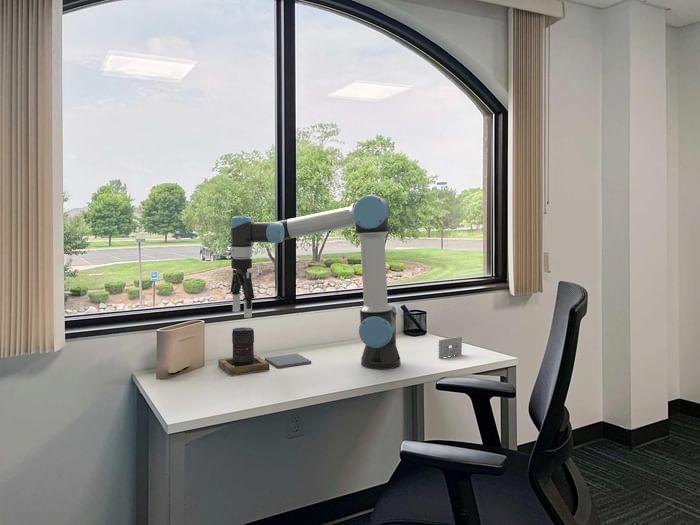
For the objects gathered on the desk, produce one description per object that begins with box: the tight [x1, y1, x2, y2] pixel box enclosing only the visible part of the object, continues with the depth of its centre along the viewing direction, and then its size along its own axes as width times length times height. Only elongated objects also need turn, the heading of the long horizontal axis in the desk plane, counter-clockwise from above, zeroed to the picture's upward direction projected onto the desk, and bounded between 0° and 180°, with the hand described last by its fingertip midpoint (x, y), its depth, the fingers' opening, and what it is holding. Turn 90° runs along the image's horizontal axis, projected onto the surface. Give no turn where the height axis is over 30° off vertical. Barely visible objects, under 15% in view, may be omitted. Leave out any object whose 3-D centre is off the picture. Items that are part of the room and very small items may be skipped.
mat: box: [264, 352, 312, 369], centre depth 220 cm, size 14×14×1 cm
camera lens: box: [231, 327, 255, 367], centre depth 211 cm, size 8×8×15 cm
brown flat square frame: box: [217, 354, 270, 376], centre depth 211 cm, size 15×15×2 cm
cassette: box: [438, 336, 463, 359], centre depth 228 cm, size 12×2×8 cm, turn 123°
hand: (242, 314), depth 210 cm, fingers open, 13 cm apart
